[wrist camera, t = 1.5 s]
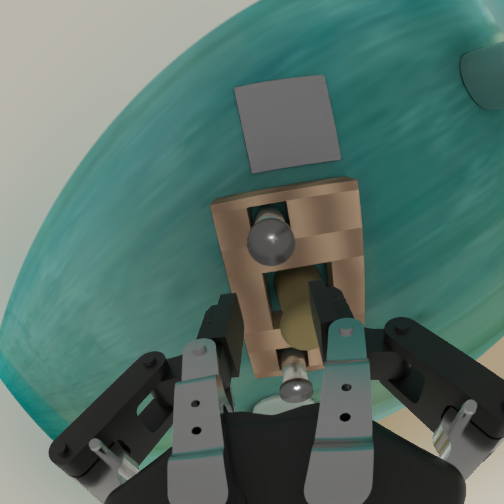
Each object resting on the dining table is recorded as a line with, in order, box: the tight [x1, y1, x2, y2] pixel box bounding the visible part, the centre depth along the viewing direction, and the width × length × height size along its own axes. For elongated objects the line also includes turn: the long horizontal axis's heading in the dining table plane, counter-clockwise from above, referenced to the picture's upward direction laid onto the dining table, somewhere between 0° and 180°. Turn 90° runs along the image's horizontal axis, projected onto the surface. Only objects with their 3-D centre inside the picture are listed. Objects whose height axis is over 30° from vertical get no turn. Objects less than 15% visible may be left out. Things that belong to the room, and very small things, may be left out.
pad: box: [234, 75, 341, 174], centre depth 27 cm, size 10×10×1 cm
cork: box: [274, 265, 321, 351], centre depth 29 cm, size 6×6×11 cm
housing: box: [210, 176, 365, 378], centre depth 32 cm, size 15×24×4 cm, turn 11°
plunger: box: [247, 206, 295, 266], centre depth 25 cm, size 4×4×8 cm
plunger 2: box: [280, 347, 313, 403], centre depth 31 cm, size 4×4×8 cm
